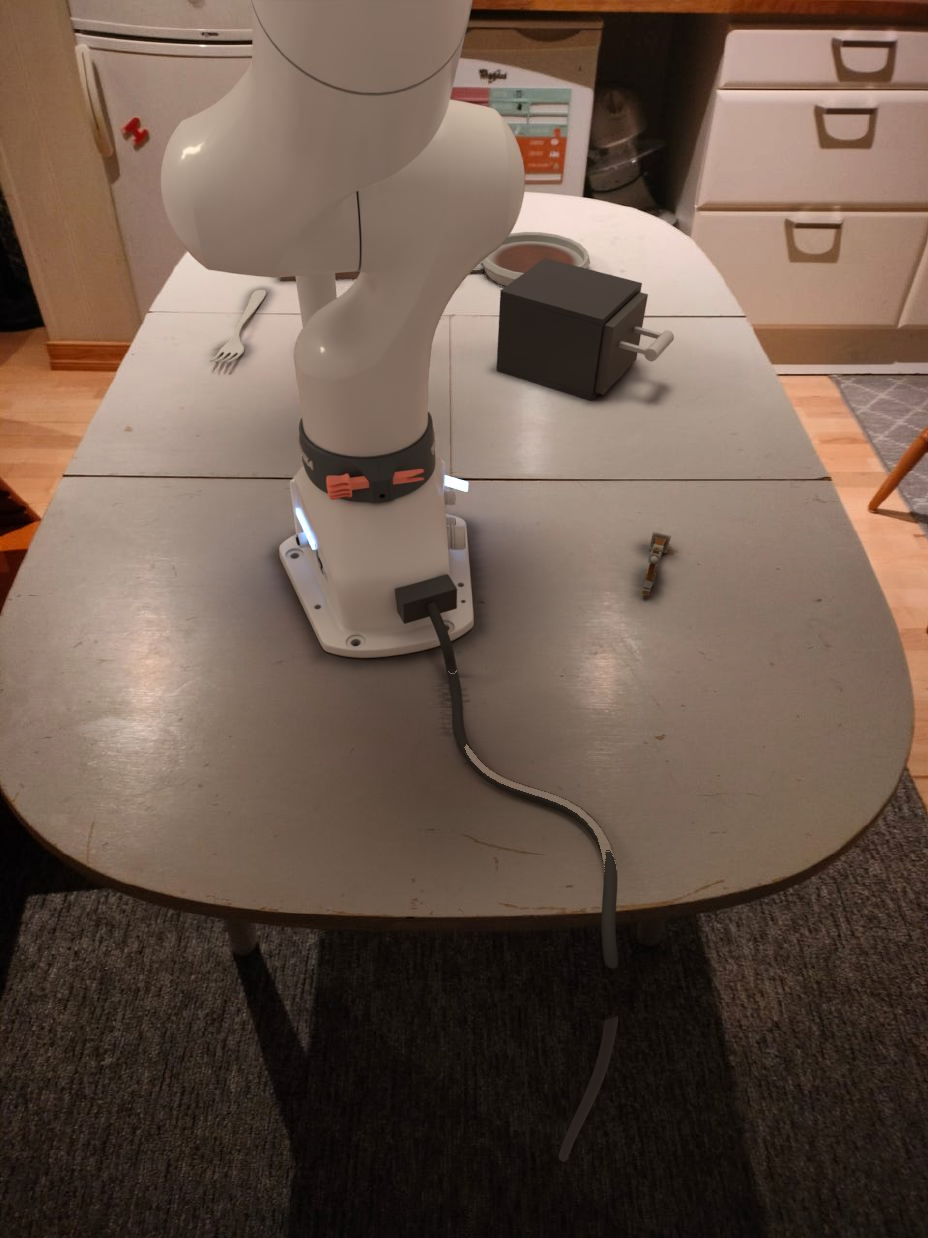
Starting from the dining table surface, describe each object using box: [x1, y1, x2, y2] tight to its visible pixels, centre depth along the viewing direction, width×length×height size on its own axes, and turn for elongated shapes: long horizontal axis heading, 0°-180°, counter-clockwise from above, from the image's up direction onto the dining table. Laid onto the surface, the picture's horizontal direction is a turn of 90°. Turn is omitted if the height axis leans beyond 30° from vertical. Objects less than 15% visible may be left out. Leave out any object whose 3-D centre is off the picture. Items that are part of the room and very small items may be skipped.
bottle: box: [295, 273, 338, 328], centre depth 104 cm, size 5×5×25 cm
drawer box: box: [496, 258, 643, 401], centre depth 107 cm, size 14×12×11 cm
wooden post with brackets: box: [641, 531, 672, 596], centre depth 81 cm, size 2×8×4 cm, turn 161°
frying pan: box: [473, 231, 591, 287], centre depth 130 cm, size 17×3×28 cm
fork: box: [209, 289, 267, 364], centre depth 115 cm, size 3×24×2 cm, turn 177°
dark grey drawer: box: [595, 291, 675, 395], centre depth 105 cm, size 18×10×9 cm, turn 59°
